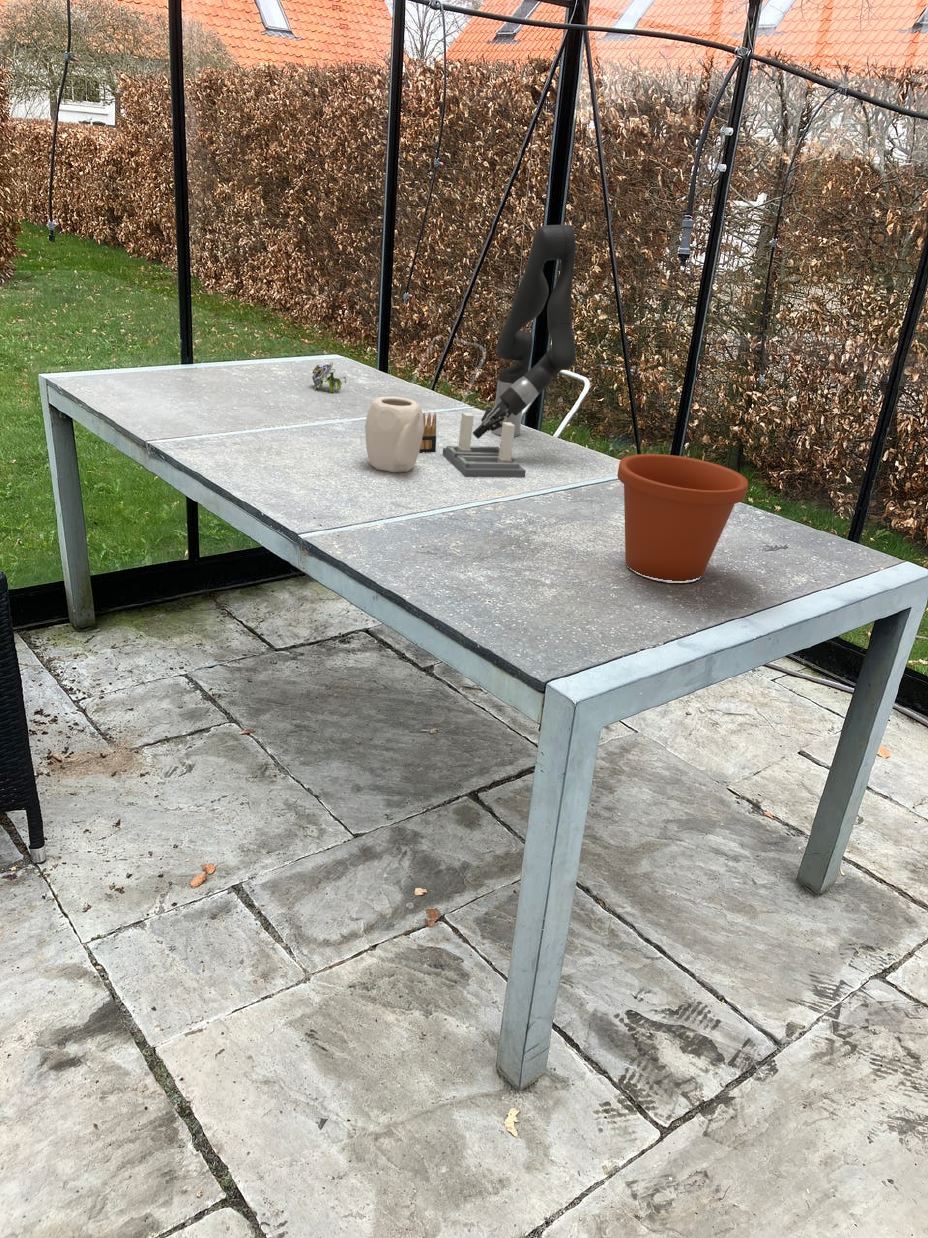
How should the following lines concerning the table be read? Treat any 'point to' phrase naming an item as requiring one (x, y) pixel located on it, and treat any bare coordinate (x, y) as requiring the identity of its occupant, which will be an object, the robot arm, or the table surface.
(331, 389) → the passion flower
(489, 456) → the switch board
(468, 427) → the tab
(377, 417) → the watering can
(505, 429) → the tab
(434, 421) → the ammunition clip
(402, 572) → the table surface
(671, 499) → the flower pot
